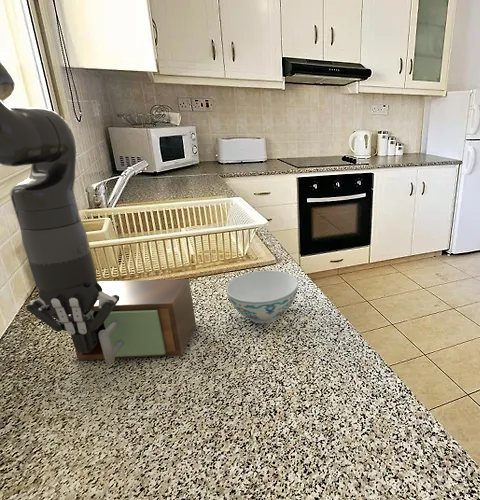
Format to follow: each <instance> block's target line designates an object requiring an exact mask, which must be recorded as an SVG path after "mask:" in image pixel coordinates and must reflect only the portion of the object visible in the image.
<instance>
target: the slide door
mask: <svg viewBox="0 0 480 500" xmlns="http://www.w3.org/2000/svg"><path fill="white" fill-rule="evenodd" d="M104 326H105V330H101V331H100V332H99V334H98V336H99V340H100V343H101V347H102V351H103V355H104V358H105V359H104V362H105V363H106V364H108V365H110V364H112V363H114V362H115V360H116V358H115V357H121V356H142V355H162V354H165V353H166V352H165V346H164V341H163V336H162V331H161V325H160V320H159V315H158V310H142V311H115V312H111V313H110V314H109V315H108V317H107V318H106V320H105V321H104Z"/></svg>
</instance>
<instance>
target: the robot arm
mask: <svg viewBox="0 0 480 500" xmlns="http://www.w3.org/2000/svg"><path fill="white" fill-rule="evenodd" d="M15 88H16V83H15V80H14V78H13V76H12V74H11V73H10V71H9V70H8V69H7V67H6V66H5V65H4V64H3V62H1V61H0V165H1V166H4V167H22V166H30V172H29V173H30V174H29V176H28V177H27V179H25V180H24V181H21V182H20V183H17V184H15V185H14V186H13V187H12V188H11V190H10V193H9V195H10V202H11V204H12V208H13V211H14V214H15V219H16V220H17V223H18V227H19V230H20V236H21V243H22V247H23V251H24V253H25V256H26V259H27V262H28V266H29V269H30V271H31V275H32V278H33V282H34V285H35V286H36V288H37V289H39V290H38V293H37V294H38V297H37V298H36V299H34V300H33V301H31V302H30V303H29V304H27V305H26V307H25V309H26V310H27V311H28V312H29V313H30V314H32V315H33V316H34V317H35V318H37V319H38V320H40V321H41V322H43V323H44V324H45V325H47V326H48V327H49V328H51V329H52V330H53V331H55V332H57V333H60V332H62V331H63V332H66V333H67V334H68V335H69V336H70V337H71V341H72V344H73V347H74V349H75V348H76V350H78V351H79V353H89V352H91V351H92V350H93V348H94V347H95V346H96V345H97V342H98V341H97V337H96V334H95V330H97V329H98V328H99V327H100V325H101V324H102V323H103V322H104V321H105V320H106V318H107V317H108V315H109V314H110V313H111V311H112V310H113V308H114V307H115V305H116V304H117V302H118V301H119V299H120V298H119V296H118V295H112V296H110V295H108V294H106V293H104V292H102V287H101V286H100V285H99V283H98V282H99V281H98V280H97V269H96V265H95V262H94V258H93V253H92V251H91V246H90V242H89V238H88V234H87V230H86V229H85V226H84V224H83V222H82V219H81V215H80V211H79V208H78V207H79V206H78V203H77V199H76V196H75V182H76V164H77V163H76V162H77V161H76V160H77V145H76V139H75V136H74V134H73V132H72V129H71V127H70V125H69V123H68V122H67V121H66V120H65V119H64V118H63V117H62V116H61V115H60V114H58V113H57V112H55V111H53V110H51V109H47V108H42V107H41V108H40V107H24V108H23V107H17V108H15V107H10V108H9V107H8V106H7V105H5V104H4V103H3V102H4V101H5V100H7V99H8V98H10V97H11V95H12V94H13V93H14V91H15ZM97 300H99V303H98V305H99V308H100V311H99V312H98V314H97V315H96V317H95V318H94V316H93V313H94V305H95V303H96V302H97ZM76 350H75V351H76Z"/></svg>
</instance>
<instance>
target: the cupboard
mask: <svg viewBox="0 0 480 500" xmlns="http://www.w3.org/2000/svg"><path fill="white" fill-rule="evenodd" d="M97 282H98V283H99V285H100V286H101V287H102V292H104V293H106V294H108V295H110V296H112V295H118V296H119V298H120V299H119V301H118V302H117V304H116V305H115V307H114V308H113V310H112V311H111V312H115V311H142V310H158V315H159V320H160V325H161V331H162V336H163V341H164V346H165V352H166V353H165V354H162V355H142V356H121V357H115V359H131V358H132V359H133V358H153V357H171V356H172V357H173V356H182V355H183V353H184V351H185V349H186V347H187V345H188V343H189V341H190V339H191V337H192V335H193V333H194V331H195V329H196V327H197V323H196V316H195V310H194V302H193V297H192V289H191V284H190V283H191V282H190V279H189V278H178V279H177V278H176V279H175V278H174V279H173V278H172V279H141V280H140V279H139V280H137V279H136V280H105V281H104V280H103V281H102V280H101V281H97ZM98 303H99V300H97V302H96V303H95V305H94V313H93V316H94V318H95V317H96V315H97V314H98V312H99V311H100V308H99V305H98ZM101 330H105V326H104V322H103V323H102V324H101V325H100V327H99V328H98V329H97V330H95V334H96V337H97V341H98V342H97V345H96V346H95V347H94V348H93V350H92V351H91V352H89V353H79V351H78V350H76V348H75V347H74V350H75V352H76V354H75V355H76V357H77V361H89V360H90V361H91V360H94V361H95V360H105V358H104V355H103V351H102V347H101V343H100V340H99V336H98V334H99V332H100V331H101Z"/></svg>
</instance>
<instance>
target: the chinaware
mask: <svg viewBox="0 0 480 500" xmlns="http://www.w3.org/2000/svg"><path fill="white" fill-rule="evenodd" d="M298 287H299V282H298V279H297V278H296V277H295V276H294V275H293V274H290V273H288V272H285V271H281V270H272V269H271V270H270V269H269V270H266V269H265V270H256V271H251V272H246V273H244V274H240V275H239V276H236V277H235V278H232V279H231V280H230V281H229V282H228V284H227V285H226V288H225V289H226V291H225V292H226V294H227V297H228V299H229V301H230V303H231V305H232V306H233V307H234V309H235V310H236V311H237V312H239V313H240V315H243V316H244V317H246V318H248V319H249V320H250V321H251V322H253V323H255V324H261V325H262V324H270V323H273V322H275V321H277V320H278V319H279V318H280V317H281V315H282V314H284V312H286V311H287V310H288V309H289V308H290V307H291V305H292V304H293V302H294V300H295V298H296V296H297V292H298Z"/></svg>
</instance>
